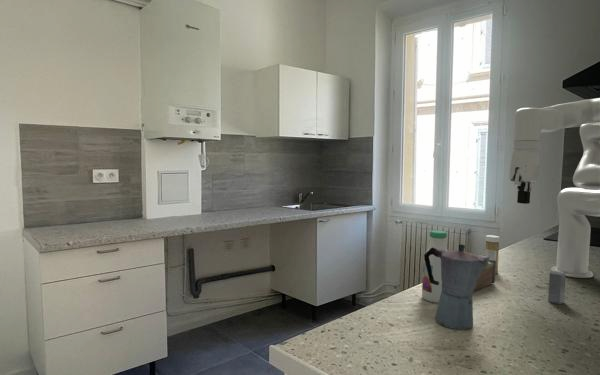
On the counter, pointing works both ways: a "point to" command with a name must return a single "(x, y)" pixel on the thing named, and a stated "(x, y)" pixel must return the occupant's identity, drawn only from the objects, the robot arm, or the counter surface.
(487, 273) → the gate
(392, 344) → the counter surface
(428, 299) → the milk bottle
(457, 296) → the moka pot
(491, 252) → the sprinkles bottle
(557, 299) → the grey rectangular blocks
